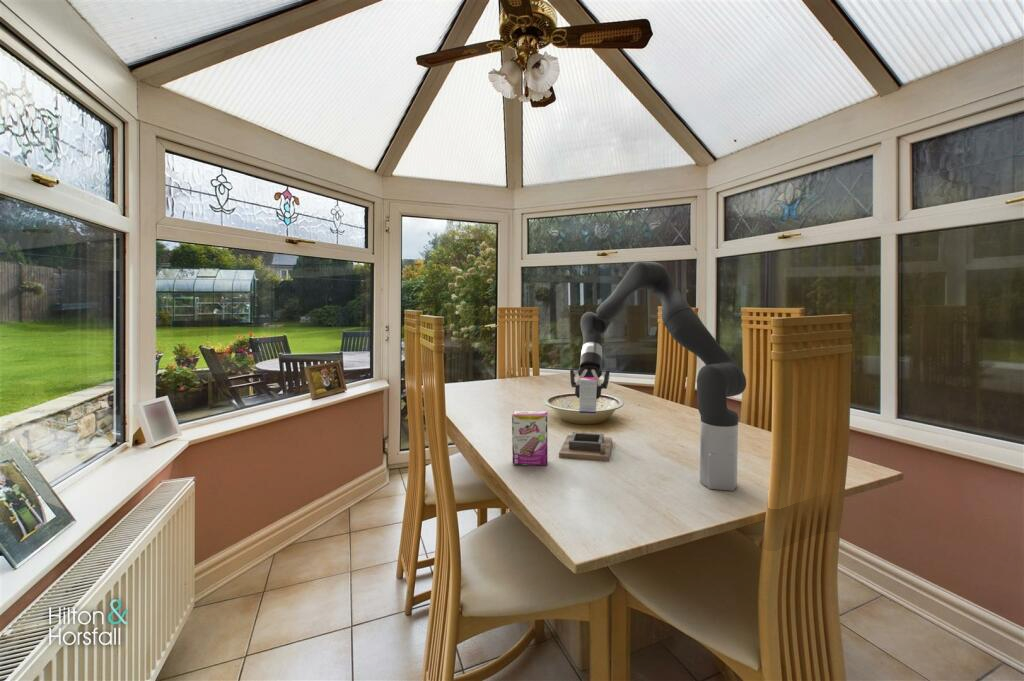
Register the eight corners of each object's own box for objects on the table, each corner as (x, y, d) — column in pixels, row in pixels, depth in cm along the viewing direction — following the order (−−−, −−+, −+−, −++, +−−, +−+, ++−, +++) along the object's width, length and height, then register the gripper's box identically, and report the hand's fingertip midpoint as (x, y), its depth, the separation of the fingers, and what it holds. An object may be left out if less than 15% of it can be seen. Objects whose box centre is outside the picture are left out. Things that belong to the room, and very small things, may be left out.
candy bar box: (512, 465, 135) (511, 414, 133) (513, 460, 140) (512, 410, 138) (548, 466, 134) (547, 414, 132) (548, 460, 138) (547, 410, 137)
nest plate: (608, 461, 137) (608, 447, 136) (559, 457, 141) (558, 443, 141) (611, 441, 156) (611, 429, 156) (568, 438, 160) (567, 427, 160)
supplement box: (596, 413, 144) (596, 380, 143) (578, 413, 145) (578, 379, 144) (596, 409, 150) (596, 376, 148) (579, 408, 151) (579, 376, 150)
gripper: (570, 350, 154) (565, 390, 144) (611, 351, 150) (608, 392, 140) (572, 363, 160) (567, 402, 150) (611, 364, 156) (609, 404, 146)
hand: (587, 397), depth 145 cm, fingers closed on supplement box, 6 cm apart
